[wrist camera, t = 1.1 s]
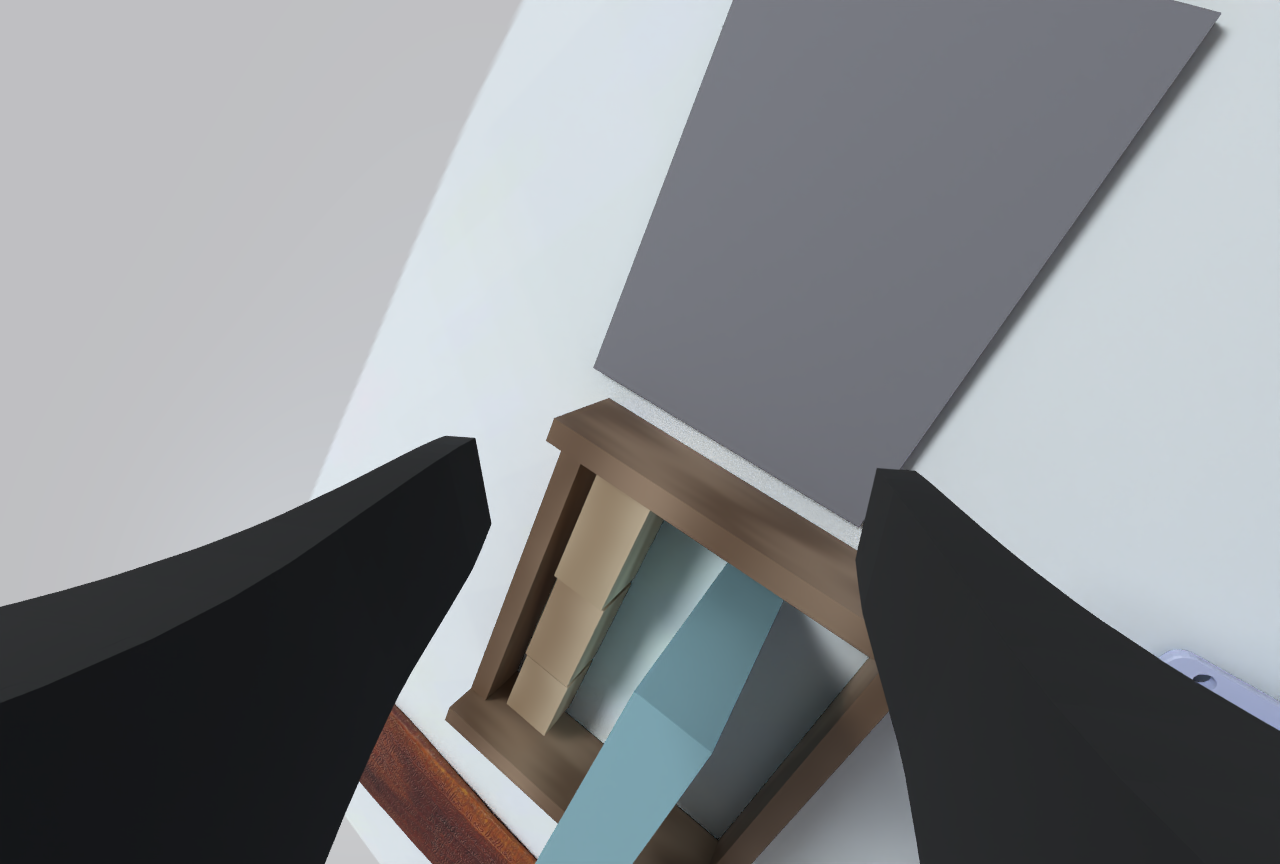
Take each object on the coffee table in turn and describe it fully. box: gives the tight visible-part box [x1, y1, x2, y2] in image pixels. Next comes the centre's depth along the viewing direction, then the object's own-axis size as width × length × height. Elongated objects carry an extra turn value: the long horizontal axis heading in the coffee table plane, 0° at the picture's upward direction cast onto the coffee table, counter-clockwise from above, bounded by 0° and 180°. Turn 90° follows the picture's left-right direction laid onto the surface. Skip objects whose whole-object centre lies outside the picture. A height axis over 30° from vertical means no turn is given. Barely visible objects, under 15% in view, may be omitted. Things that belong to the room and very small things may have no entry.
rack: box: [445, 398, 889, 864], centre depth 24 cm, size 15×18×4 cm
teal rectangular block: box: [535, 563, 783, 864], centre depth 21 cm, size 2×12×9 cm, turn 155°
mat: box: [593, 0, 1221, 527], centre depth 18 cm, size 12×16×1 cm
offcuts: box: [507, 475, 664, 736], centre depth 25 cm, size 2×15×3 cm, turn 155°
